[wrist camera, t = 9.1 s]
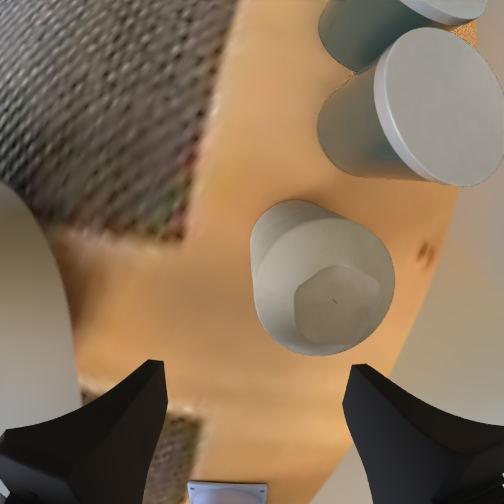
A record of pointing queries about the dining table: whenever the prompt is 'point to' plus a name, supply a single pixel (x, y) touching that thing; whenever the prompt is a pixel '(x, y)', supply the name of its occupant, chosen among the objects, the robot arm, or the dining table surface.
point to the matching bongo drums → (411, 93)
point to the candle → (318, 278)
